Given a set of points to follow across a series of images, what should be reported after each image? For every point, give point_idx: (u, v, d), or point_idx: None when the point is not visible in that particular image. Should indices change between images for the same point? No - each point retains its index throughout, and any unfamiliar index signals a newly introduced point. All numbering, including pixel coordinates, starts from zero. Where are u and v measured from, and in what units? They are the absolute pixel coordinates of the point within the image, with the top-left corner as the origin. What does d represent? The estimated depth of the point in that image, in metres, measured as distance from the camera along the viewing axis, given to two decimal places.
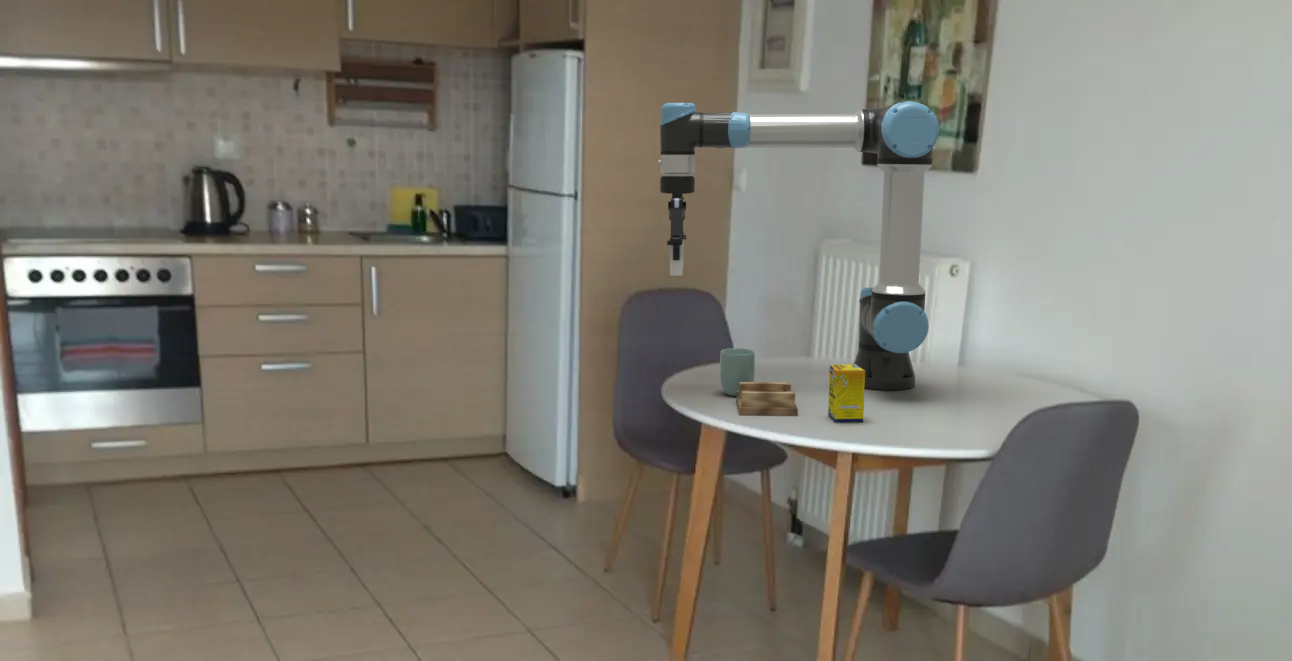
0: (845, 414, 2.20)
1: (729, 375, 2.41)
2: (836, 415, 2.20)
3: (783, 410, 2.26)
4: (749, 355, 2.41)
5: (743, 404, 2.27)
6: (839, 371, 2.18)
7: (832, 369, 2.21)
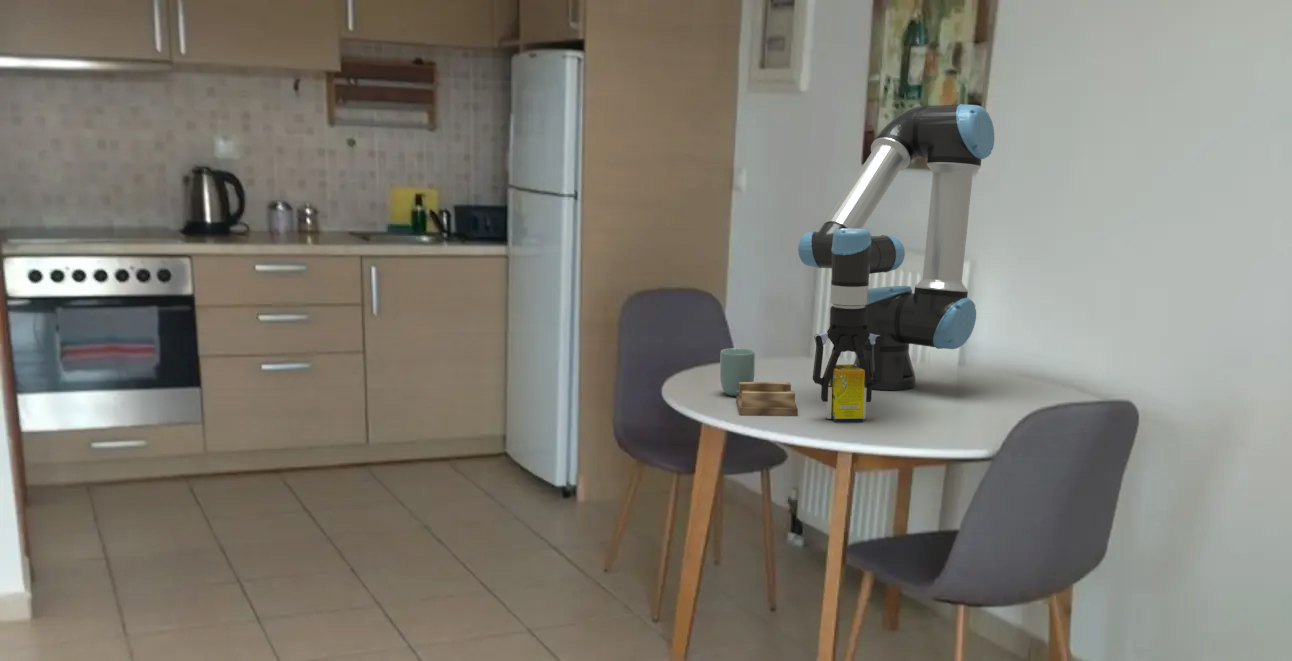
0: (844, 414, 2.20)
1: (729, 375, 2.41)
2: (836, 415, 2.20)
3: (783, 410, 2.26)
4: (749, 355, 2.41)
5: (743, 404, 2.27)
6: (839, 371, 2.18)
7: None
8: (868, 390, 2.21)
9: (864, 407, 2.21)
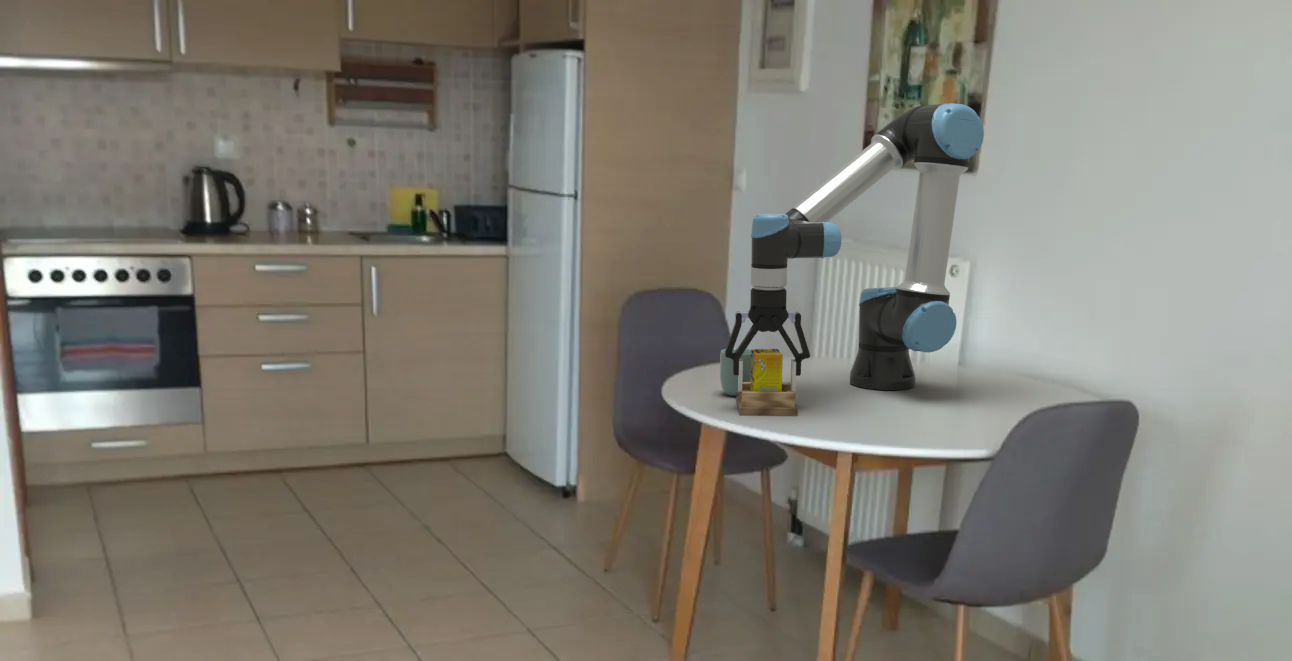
0: None
1: (729, 375, 2.41)
2: None
3: (783, 410, 2.26)
4: (749, 355, 2.41)
5: (743, 404, 2.27)
6: (757, 355, 2.27)
7: (752, 353, 2.31)
8: (798, 364, 2.30)
9: (794, 380, 2.30)
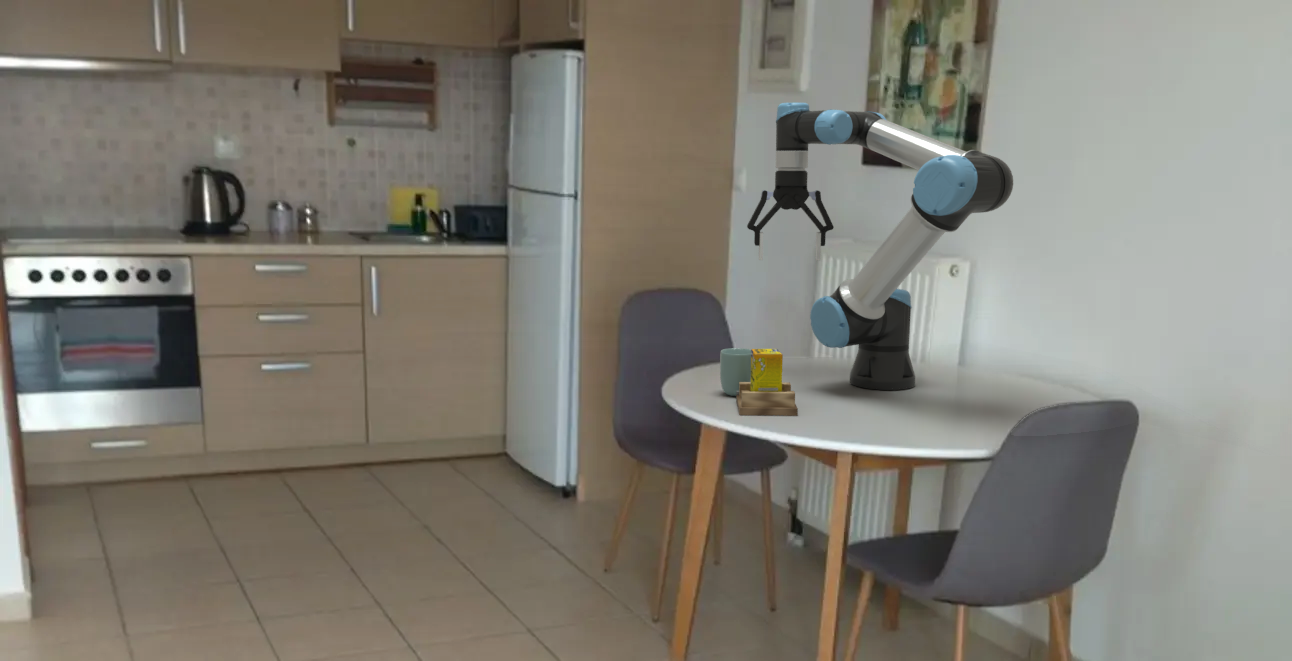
0: None
1: (729, 375, 2.41)
2: None
3: (783, 410, 2.26)
4: (749, 355, 2.41)
5: (743, 404, 2.27)
6: (757, 355, 2.27)
7: (752, 353, 2.31)
8: (823, 236, 2.57)
9: (819, 250, 2.57)
